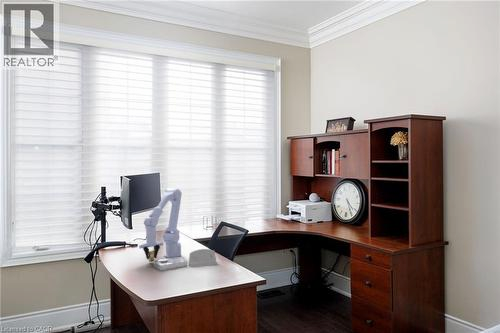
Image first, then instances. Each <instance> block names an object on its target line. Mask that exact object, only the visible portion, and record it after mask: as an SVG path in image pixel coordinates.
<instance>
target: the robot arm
mask: <svg viewBox="0 0 500 333" xmlns="http://www.w3.org/2000/svg"><path fill="white" fill-rule="evenodd" d="M181 199H182V192H181V189H179V188H166V189H165V190H164V191H163V196H162V198H161V199H160V202H159V203H158V205H157V206H155V207H153V209H152V211H151V212H150V213H149V216H147V217H146V218H145V219H144V221H143V224H144V227H145V229H146V230H145V233H146V234H145V236H146V237H145V238H146V243H142V244H139V245H138V248H139V249H142V250H143V251H144V254H145V258H146V259H147V260H149V251H150V249H149V248H152V247H153V251H155V253H154V259H157V257H158V253H159V251H160V249H161V246H164V244H165V254H163V256H164V257H165V258H166V259H168V258H174V257H182V245H181V242H180V231H179V229H178V228H177V227H178V220H179V214H180V209H181V202H182V200H181ZM169 202H170V203H171V207H170V214H169V220H168V226H167V228H165V229H164V233H163V234H162V240H163V241H164V242H163V241H157V225H158V223H159V220H160V217H161V216H162V214H163V212H164V211H163V209H164V208H165V207H166V205H167V204H168V203H169Z"/></svg>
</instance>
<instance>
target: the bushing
mask: <svg viewBox="0 0 500 333" xmlns="http://www.w3.org/2000/svg"><path fill="white" fill-rule="evenodd" d="M154 253H155V251H154V249H153V250H149V259H148V262H149V263H154V261H155V258H154Z"/></svg>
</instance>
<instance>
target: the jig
mask: <svg viewBox="0 0 500 333" xmlns="http://www.w3.org/2000/svg"><path fill="white" fill-rule="evenodd" d="M187 263H188V261H187V260H186V259H184V258H182V257H181V256H177V257H171V258H163V259H157V260H154V261H153V267H155V268H156V269H157V270H158V271H159V272H162V270H163V271H167V270H174V269H178V268H185V267H188V264H187Z"/></svg>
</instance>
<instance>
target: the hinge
mask: <svg viewBox="0 0 500 333" xmlns="http://www.w3.org/2000/svg"><path fill="white" fill-rule="evenodd" d="M188 257H189V258H188V266H189V267H190V268H193V267H194V268H195V267H205V266H213V265H218V262H217V257H216V252H215V250H212V249H208V248H200V249H196V250H193V251H191V252H189V256H188Z"/></svg>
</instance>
